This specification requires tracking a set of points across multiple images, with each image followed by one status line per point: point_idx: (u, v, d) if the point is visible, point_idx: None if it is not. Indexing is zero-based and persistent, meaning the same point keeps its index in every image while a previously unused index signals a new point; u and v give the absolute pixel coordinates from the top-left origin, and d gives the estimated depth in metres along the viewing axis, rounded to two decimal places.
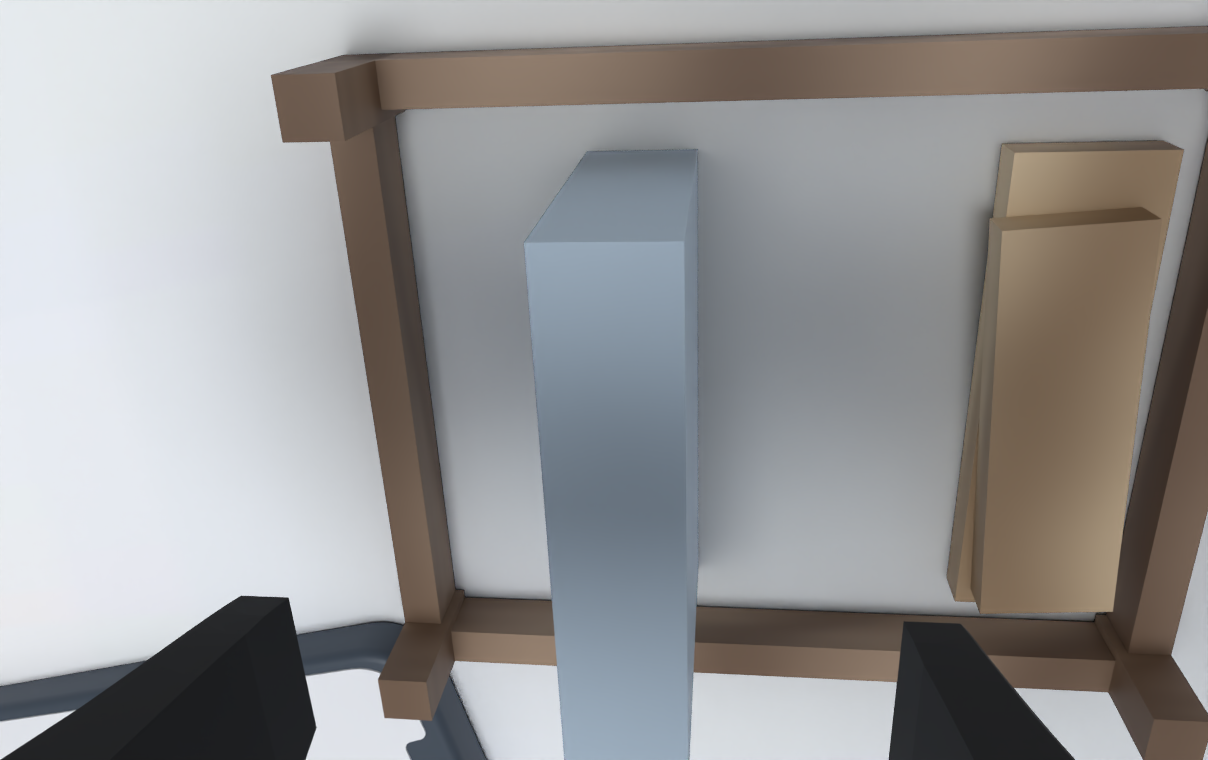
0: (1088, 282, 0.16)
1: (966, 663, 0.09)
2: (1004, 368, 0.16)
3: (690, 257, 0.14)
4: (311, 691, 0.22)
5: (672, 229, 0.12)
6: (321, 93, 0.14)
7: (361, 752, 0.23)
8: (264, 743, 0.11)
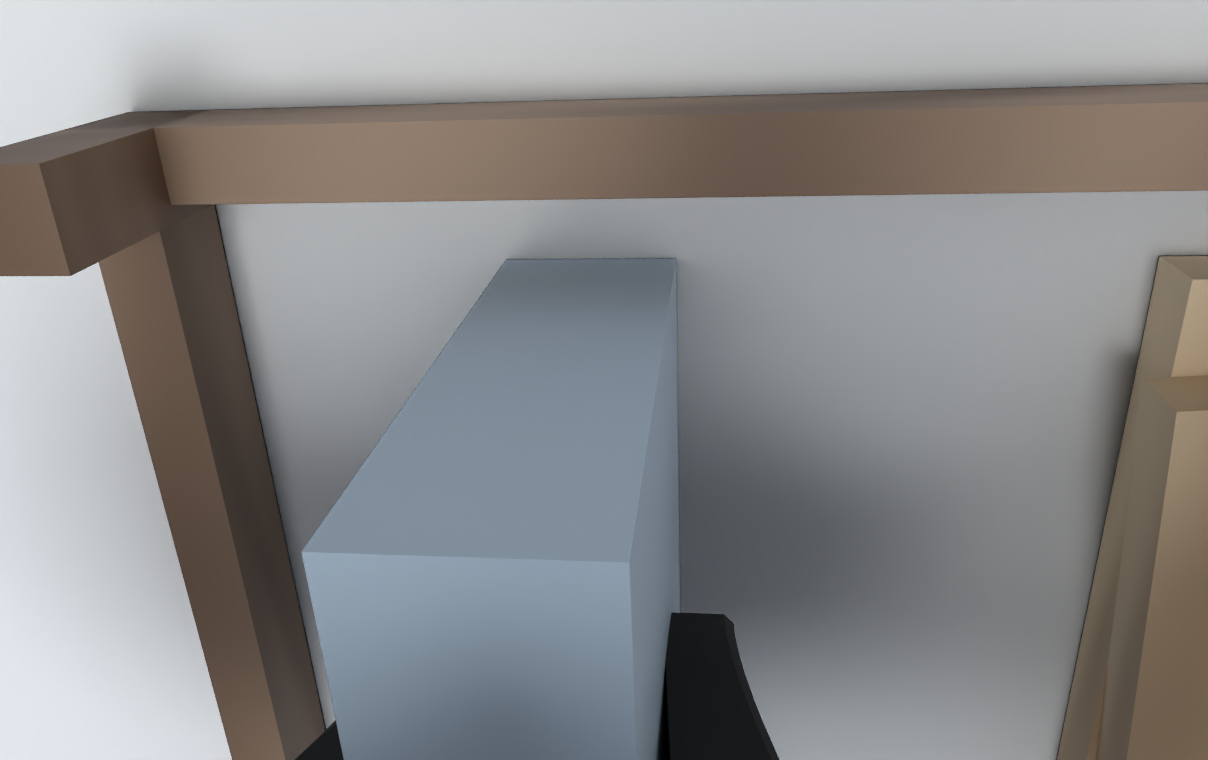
0: None
1: (706, 652, 0.10)
2: (1164, 612, 0.10)
3: (655, 498, 0.08)
4: None
5: (611, 510, 0.06)
6: (21, 197, 0.08)
7: None
8: None
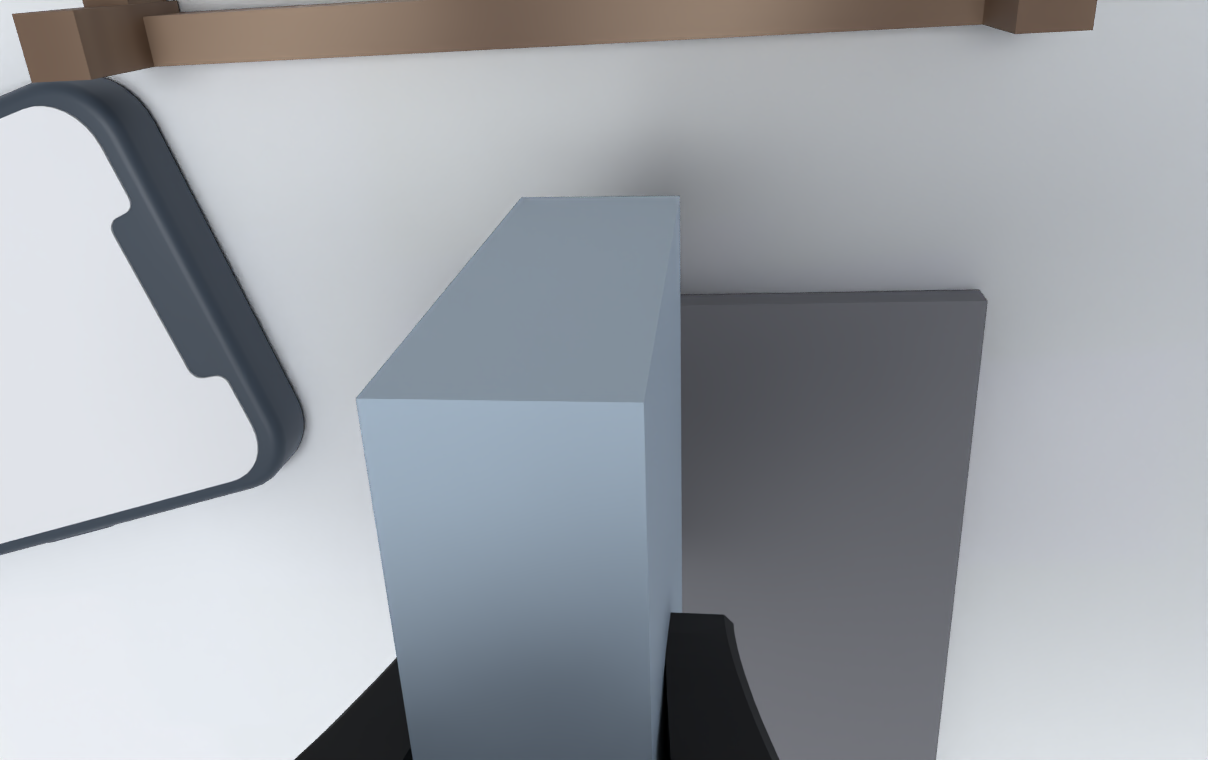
0: None
1: (707, 652, 0.10)
2: None
3: (663, 387, 0.09)
4: None
5: (627, 368, 0.07)
6: None
7: (61, 246, 0.18)
8: None
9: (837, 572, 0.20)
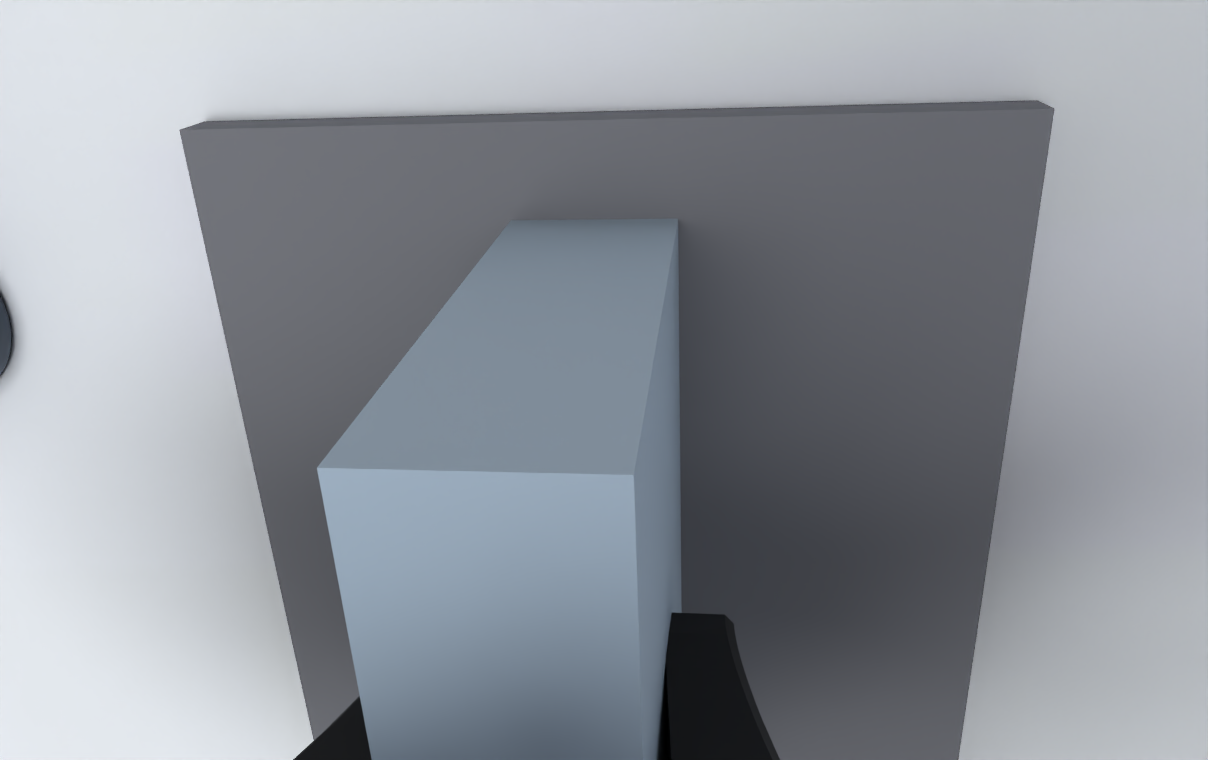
0: None
1: (707, 652, 0.10)
2: None
3: (658, 436, 0.08)
4: None
5: (616, 431, 0.06)
6: None
7: None
8: None
9: (804, 559, 0.13)
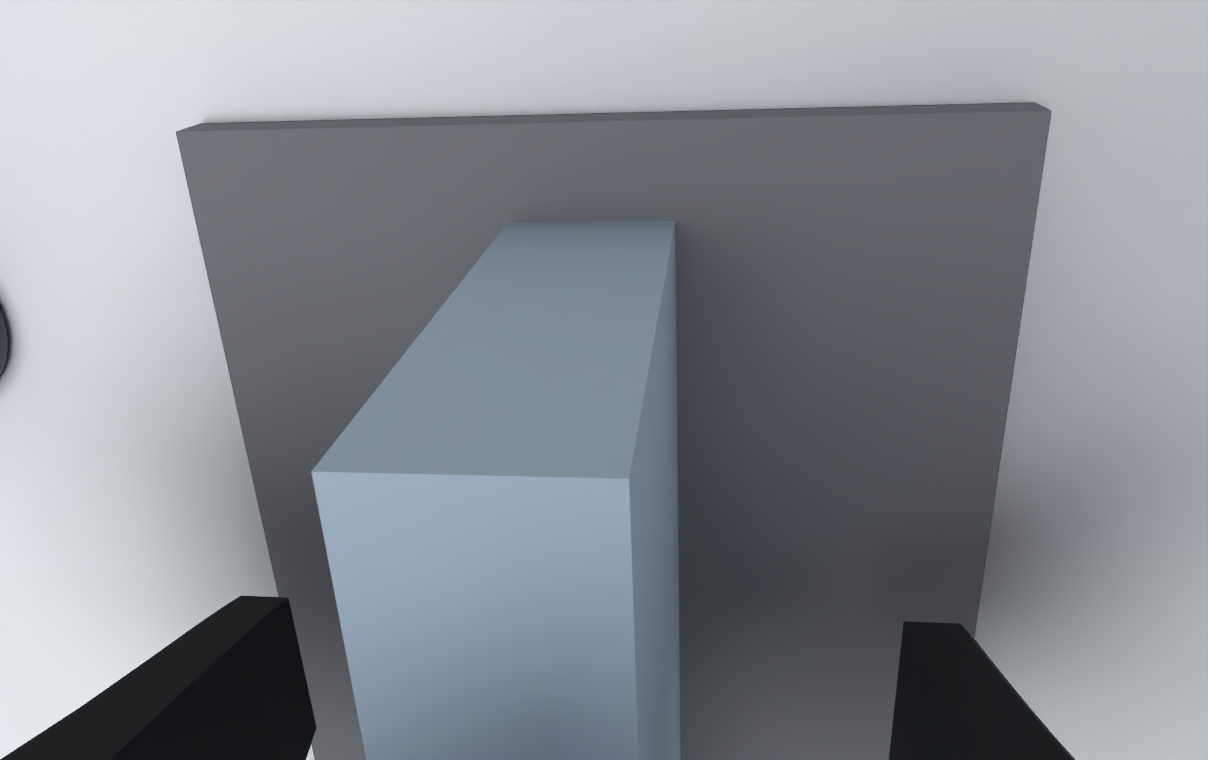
0: None
1: (966, 663, 0.09)
2: None
3: (654, 439, 0.08)
4: None
5: (613, 434, 0.06)
6: None
7: None
8: (264, 743, 0.11)
9: (801, 560, 0.13)
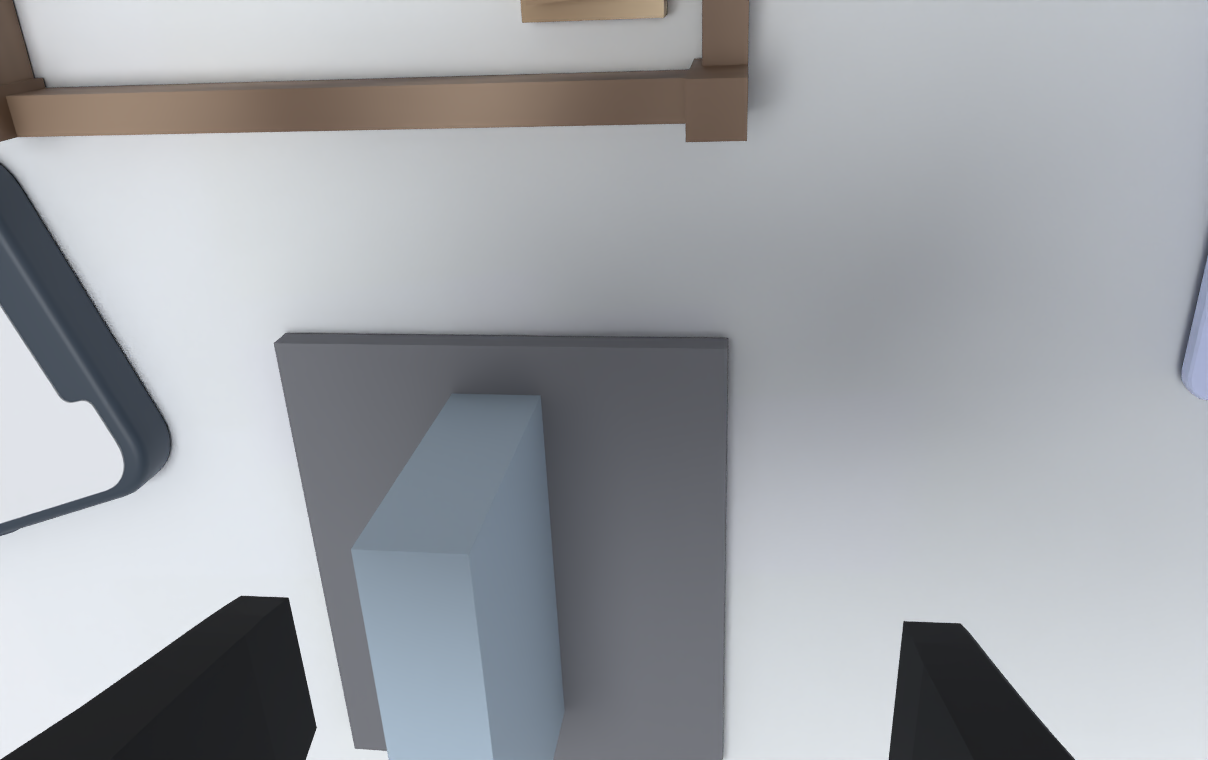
0: None
1: (966, 663, 0.09)
2: None
3: (503, 526, 0.18)
4: None
5: (468, 534, 0.16)
6: None
7: None
8: (264, 743, 0.11)
9: (623, 577, 0.22)
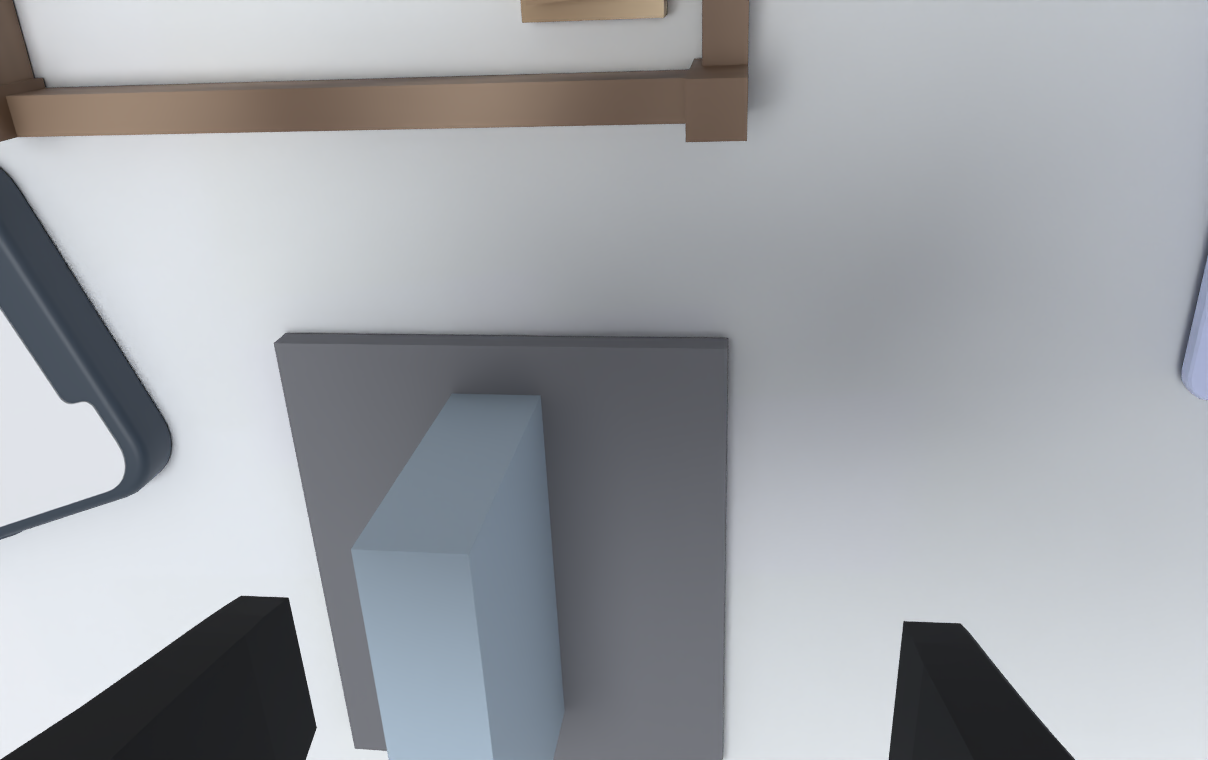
0: None
1: (966, 663, 0.09)
2: None
3: (503, 526, 0.18)
4: None
5: (468, 534, 0.16)
6: None
7: None
8: (264, 743, 0.11)
9: (623, 577, 0.22)
